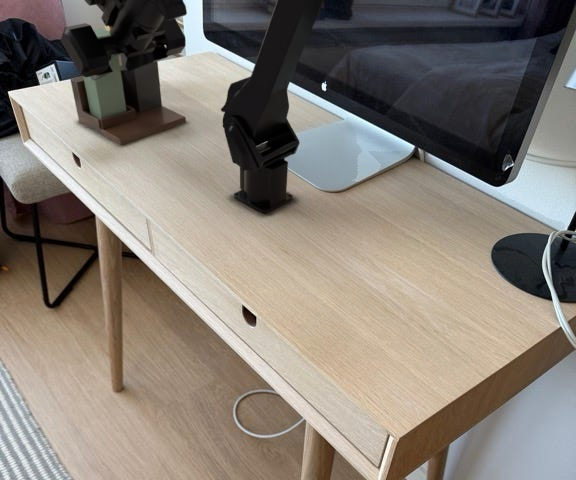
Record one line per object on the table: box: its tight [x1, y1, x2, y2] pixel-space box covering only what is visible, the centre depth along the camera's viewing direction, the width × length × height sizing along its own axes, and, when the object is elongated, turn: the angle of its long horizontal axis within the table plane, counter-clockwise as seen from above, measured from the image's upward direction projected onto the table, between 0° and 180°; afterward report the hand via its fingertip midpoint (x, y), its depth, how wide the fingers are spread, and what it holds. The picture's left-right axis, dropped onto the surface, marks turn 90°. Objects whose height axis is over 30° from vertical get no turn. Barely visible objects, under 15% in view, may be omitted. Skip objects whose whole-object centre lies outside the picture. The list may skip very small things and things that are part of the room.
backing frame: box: [69, 54, 187, 146], centre depth 95 cm, size 12×14×14 cm
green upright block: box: [83, 27, 126, 119], centre depth 93 cm, size 4×5×13 cm
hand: (110, 72), depth 91 cm, fingers open, 6 cm apart
